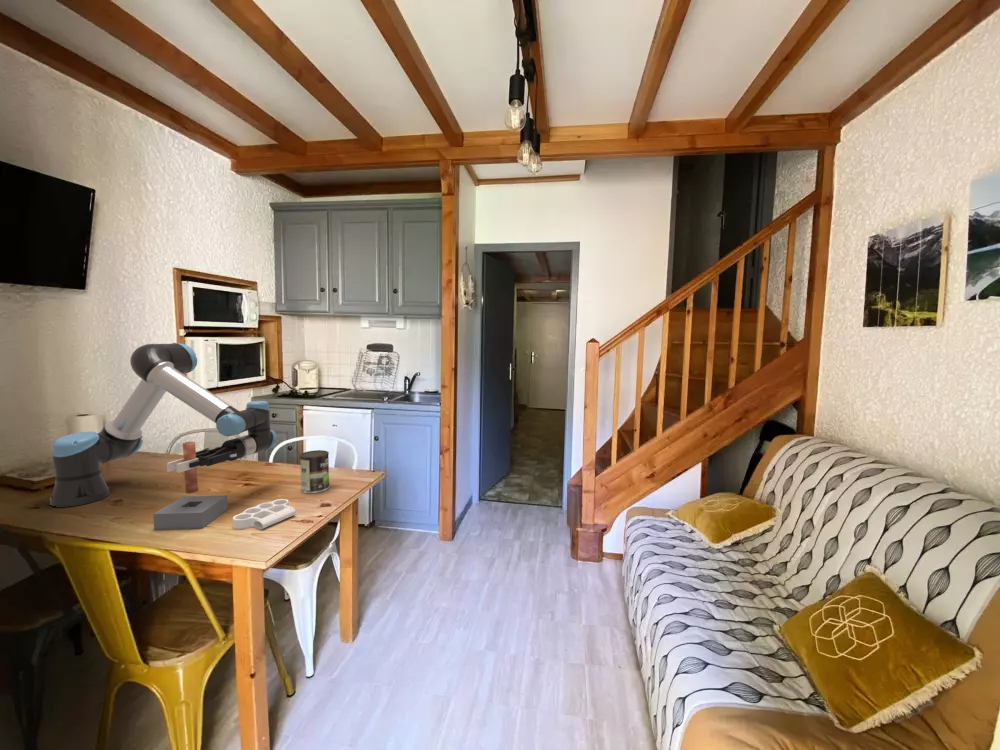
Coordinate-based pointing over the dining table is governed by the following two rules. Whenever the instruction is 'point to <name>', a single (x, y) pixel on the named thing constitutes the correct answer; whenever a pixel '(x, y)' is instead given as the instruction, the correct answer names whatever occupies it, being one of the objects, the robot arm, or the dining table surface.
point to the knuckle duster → (264, 515)
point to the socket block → (190, 512)
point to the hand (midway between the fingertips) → (172, 467)
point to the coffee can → (314, 471)
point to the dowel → (190, 474)
